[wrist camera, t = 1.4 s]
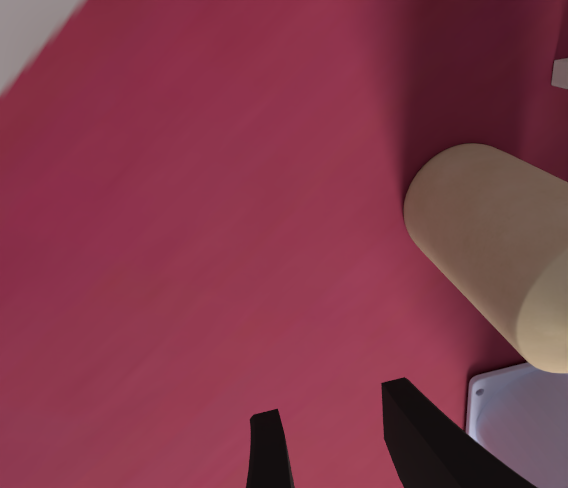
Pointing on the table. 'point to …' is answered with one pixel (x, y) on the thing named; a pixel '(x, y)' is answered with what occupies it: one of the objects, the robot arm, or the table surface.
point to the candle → (499, 243)
